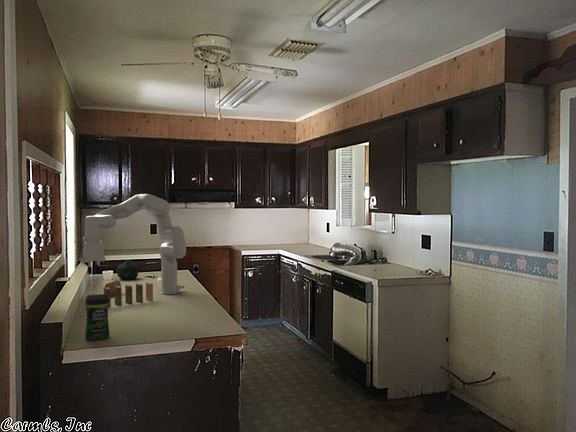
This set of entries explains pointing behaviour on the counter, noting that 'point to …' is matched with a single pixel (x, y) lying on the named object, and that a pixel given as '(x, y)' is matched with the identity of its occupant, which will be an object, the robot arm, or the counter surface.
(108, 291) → the domino
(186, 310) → the counter surface
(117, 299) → the domino
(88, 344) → the counter surface
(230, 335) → the counter surface
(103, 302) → the coffee jar
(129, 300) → the domino
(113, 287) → the tin
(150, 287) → the domino
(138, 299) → the domino
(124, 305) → the mat
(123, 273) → the squash
